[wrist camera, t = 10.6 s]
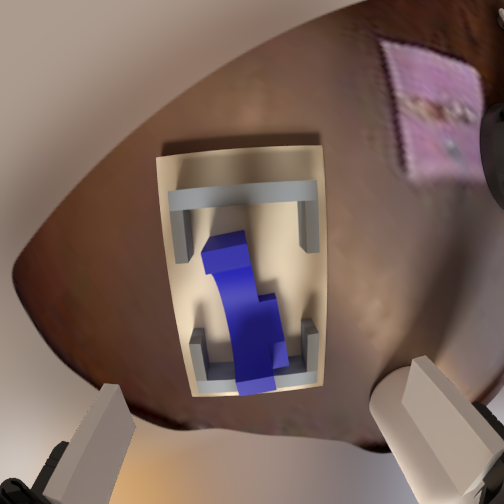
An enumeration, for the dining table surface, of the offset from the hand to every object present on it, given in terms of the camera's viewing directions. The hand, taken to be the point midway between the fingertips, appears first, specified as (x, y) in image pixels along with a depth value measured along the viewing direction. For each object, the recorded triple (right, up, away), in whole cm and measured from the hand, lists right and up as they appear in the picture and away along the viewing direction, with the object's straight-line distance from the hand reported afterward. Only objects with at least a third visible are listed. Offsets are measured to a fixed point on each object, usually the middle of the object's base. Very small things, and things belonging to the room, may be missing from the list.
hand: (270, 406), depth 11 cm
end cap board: (-1, +4, +16) cm, 17 cm away
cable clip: (-1, +3, +15) cm, 15 cm away
